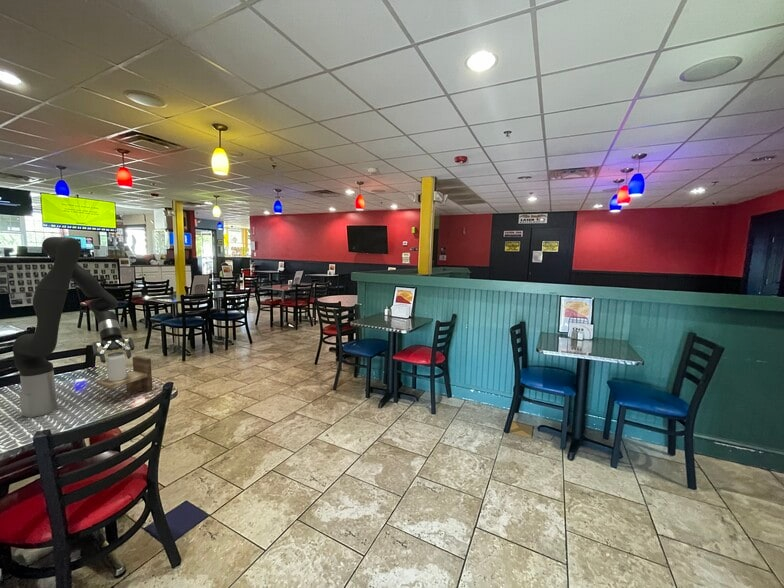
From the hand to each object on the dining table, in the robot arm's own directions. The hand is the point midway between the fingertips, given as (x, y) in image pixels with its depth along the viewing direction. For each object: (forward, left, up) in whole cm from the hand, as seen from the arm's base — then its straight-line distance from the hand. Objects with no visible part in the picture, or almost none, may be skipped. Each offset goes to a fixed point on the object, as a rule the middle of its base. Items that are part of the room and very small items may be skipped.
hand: (117, 360), depth 143 cm
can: (0, +1, -10) cm, 10 cm away
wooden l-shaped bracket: (+3, +1, -18) cm, 19 cm away
